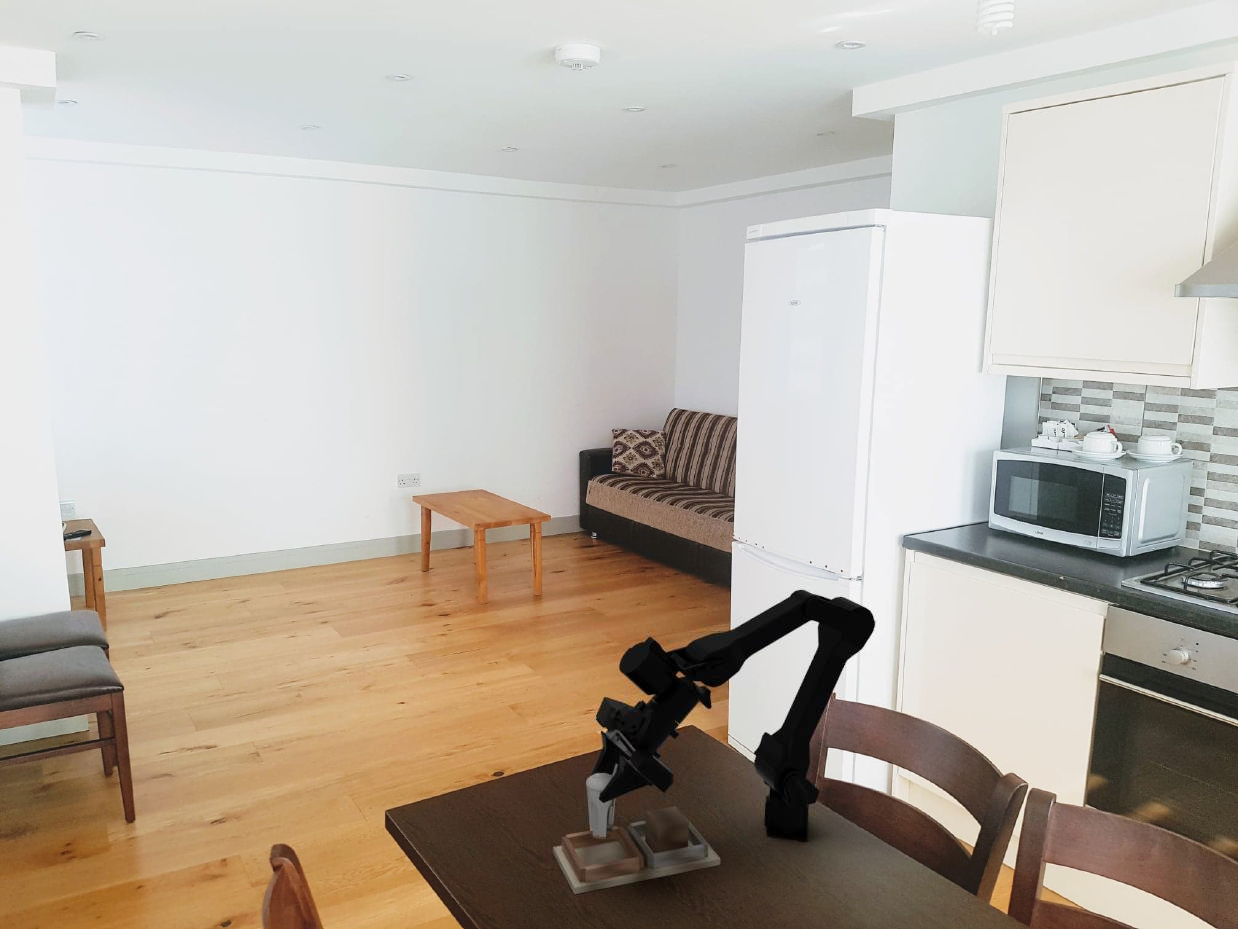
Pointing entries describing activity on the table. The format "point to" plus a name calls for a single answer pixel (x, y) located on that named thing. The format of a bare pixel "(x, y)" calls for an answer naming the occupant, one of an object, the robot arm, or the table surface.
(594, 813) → the milkshake
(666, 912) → the table surface
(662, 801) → the table surface
